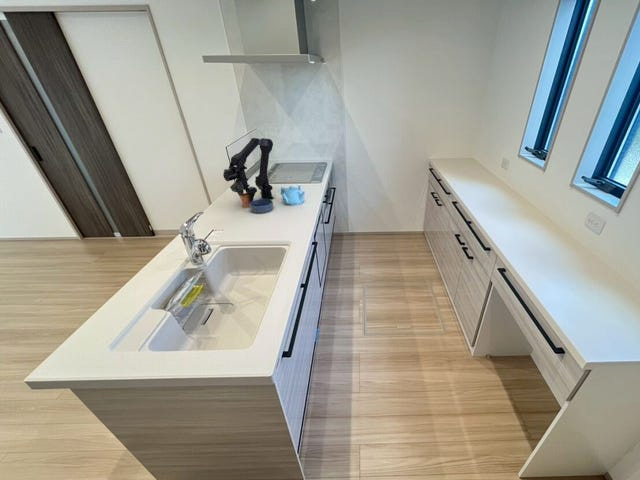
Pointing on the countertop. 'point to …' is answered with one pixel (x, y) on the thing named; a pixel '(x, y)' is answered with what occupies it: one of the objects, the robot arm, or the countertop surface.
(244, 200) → the cup
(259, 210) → the bowl
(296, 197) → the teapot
